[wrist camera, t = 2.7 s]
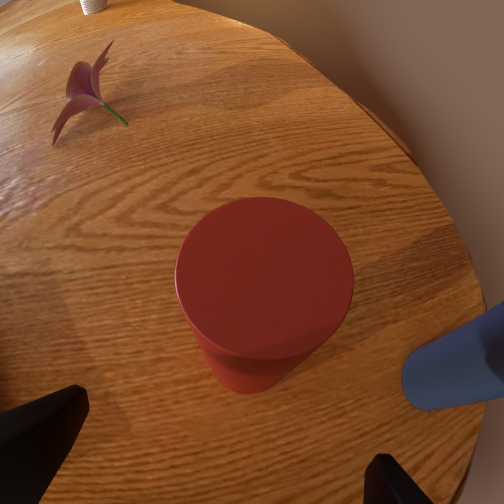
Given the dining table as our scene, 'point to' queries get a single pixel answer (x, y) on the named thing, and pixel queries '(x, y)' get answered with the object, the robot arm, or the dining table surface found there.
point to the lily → (83, 91)
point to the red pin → (262, 288)
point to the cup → (93, 6)
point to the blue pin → (459, 365)
